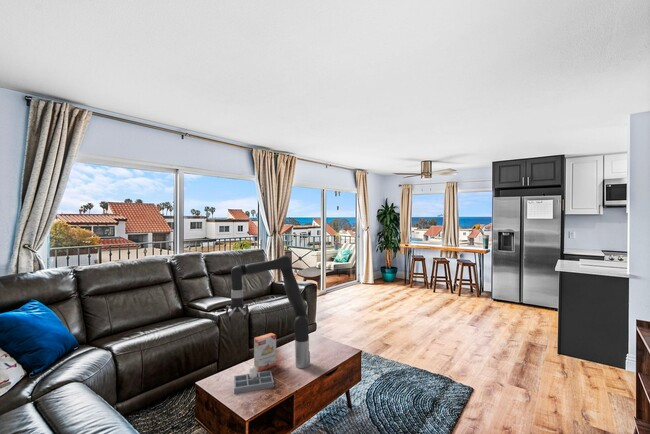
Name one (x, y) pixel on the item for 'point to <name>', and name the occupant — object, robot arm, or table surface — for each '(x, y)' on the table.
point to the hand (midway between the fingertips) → (237, 320)
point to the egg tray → (253, 382)
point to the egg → (252, 372)
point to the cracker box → (265, 351)
